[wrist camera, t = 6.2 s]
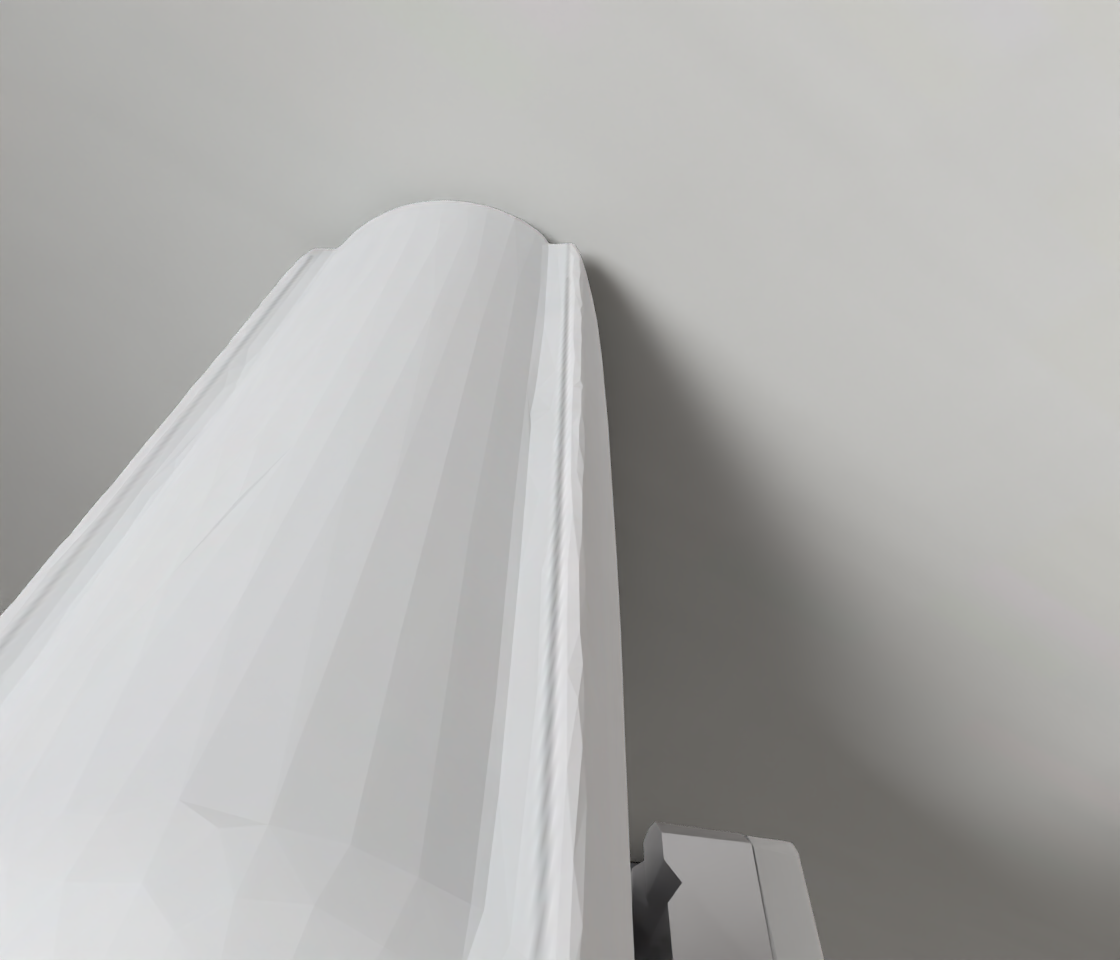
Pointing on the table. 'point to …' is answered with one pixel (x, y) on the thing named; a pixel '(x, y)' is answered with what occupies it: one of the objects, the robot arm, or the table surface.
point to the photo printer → (341, 635)
